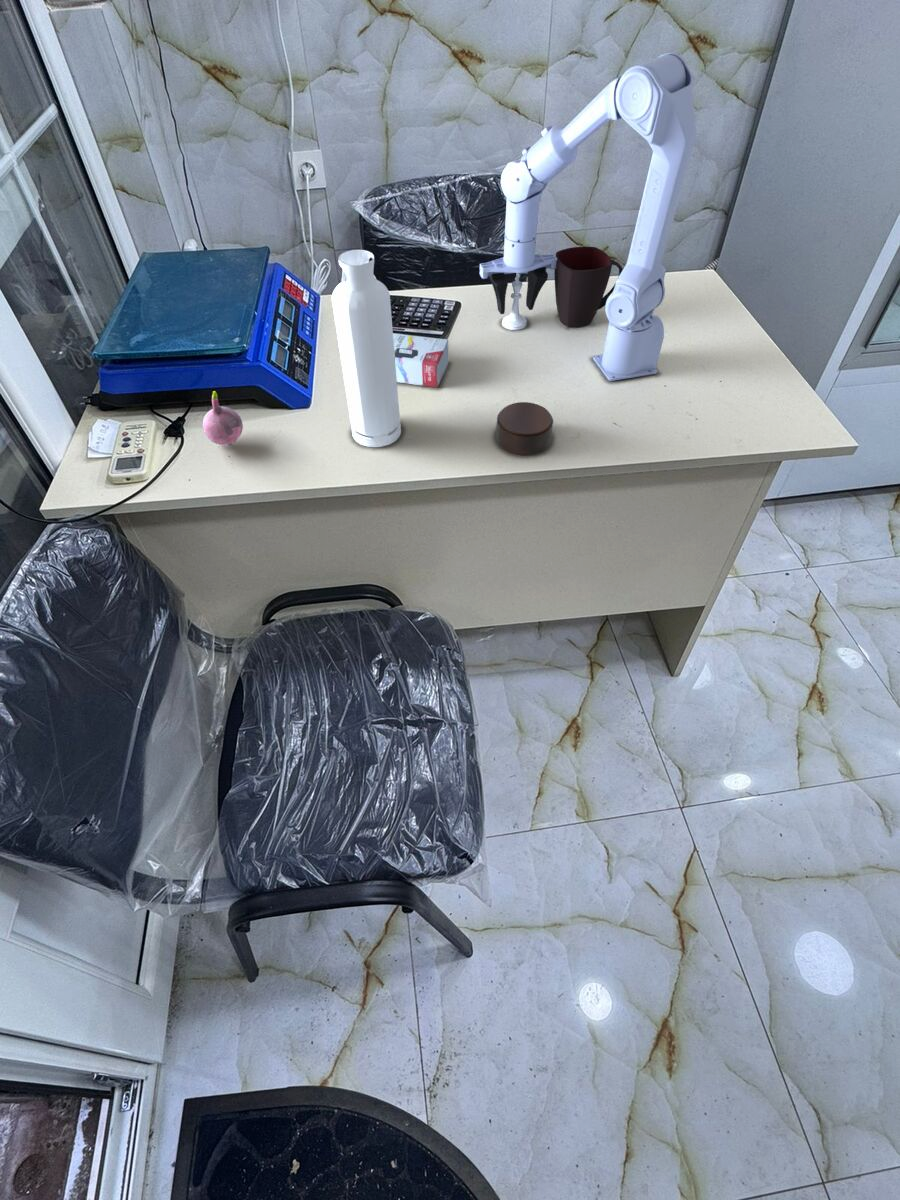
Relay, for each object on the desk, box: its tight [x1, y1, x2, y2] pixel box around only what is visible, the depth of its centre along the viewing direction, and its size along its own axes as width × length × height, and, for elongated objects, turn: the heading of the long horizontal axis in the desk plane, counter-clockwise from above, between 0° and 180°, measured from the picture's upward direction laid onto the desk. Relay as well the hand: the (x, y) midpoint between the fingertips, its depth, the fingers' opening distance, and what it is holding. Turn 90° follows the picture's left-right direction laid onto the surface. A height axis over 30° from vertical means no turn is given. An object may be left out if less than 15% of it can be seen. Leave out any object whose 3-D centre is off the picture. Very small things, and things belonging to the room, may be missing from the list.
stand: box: [495, 401, 554, 456], centre depth 104 cm, size 9×9×4 cm
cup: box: [554, 246, 624, 329], centre depth 124 cm, size 10×14×12 cm
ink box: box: [393, 332, 449, 388], centre depth 116 cm, size 9×5×12 cm
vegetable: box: [202, 390, 244, 446], centre depth 101 cm, size 6×6×10 cm
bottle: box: [331, 249, 402, 448], centre depth 96 cm, size 8×8×28 cm
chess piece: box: [501, 273, 528, 331], centre depth 124 cm, size 5×5×10 cm
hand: (515, 309), depth 126 cm, fingers open, 5 cm apart
